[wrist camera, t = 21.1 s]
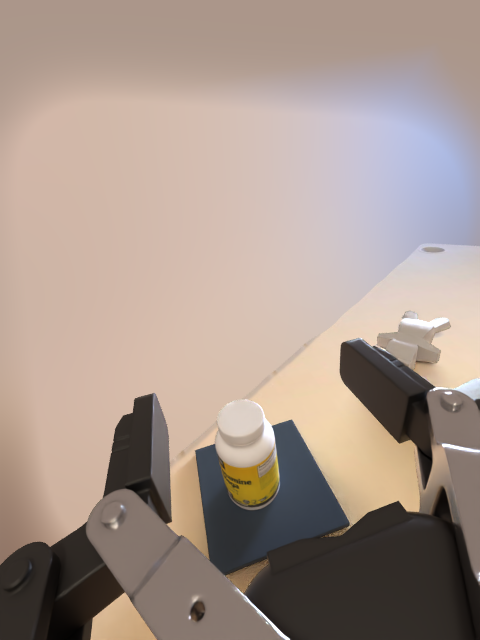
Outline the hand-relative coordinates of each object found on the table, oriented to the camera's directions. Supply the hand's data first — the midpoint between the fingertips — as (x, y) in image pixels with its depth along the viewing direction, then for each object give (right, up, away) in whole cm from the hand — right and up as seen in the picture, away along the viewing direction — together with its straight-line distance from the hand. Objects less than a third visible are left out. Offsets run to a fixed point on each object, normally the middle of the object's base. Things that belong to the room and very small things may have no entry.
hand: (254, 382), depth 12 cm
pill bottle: (+1, -17, +21) cm, 27 cm away
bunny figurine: (+30, -3, +39) cm, 49 cm away
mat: (+2, -17, +21) cm, 27 cm away
